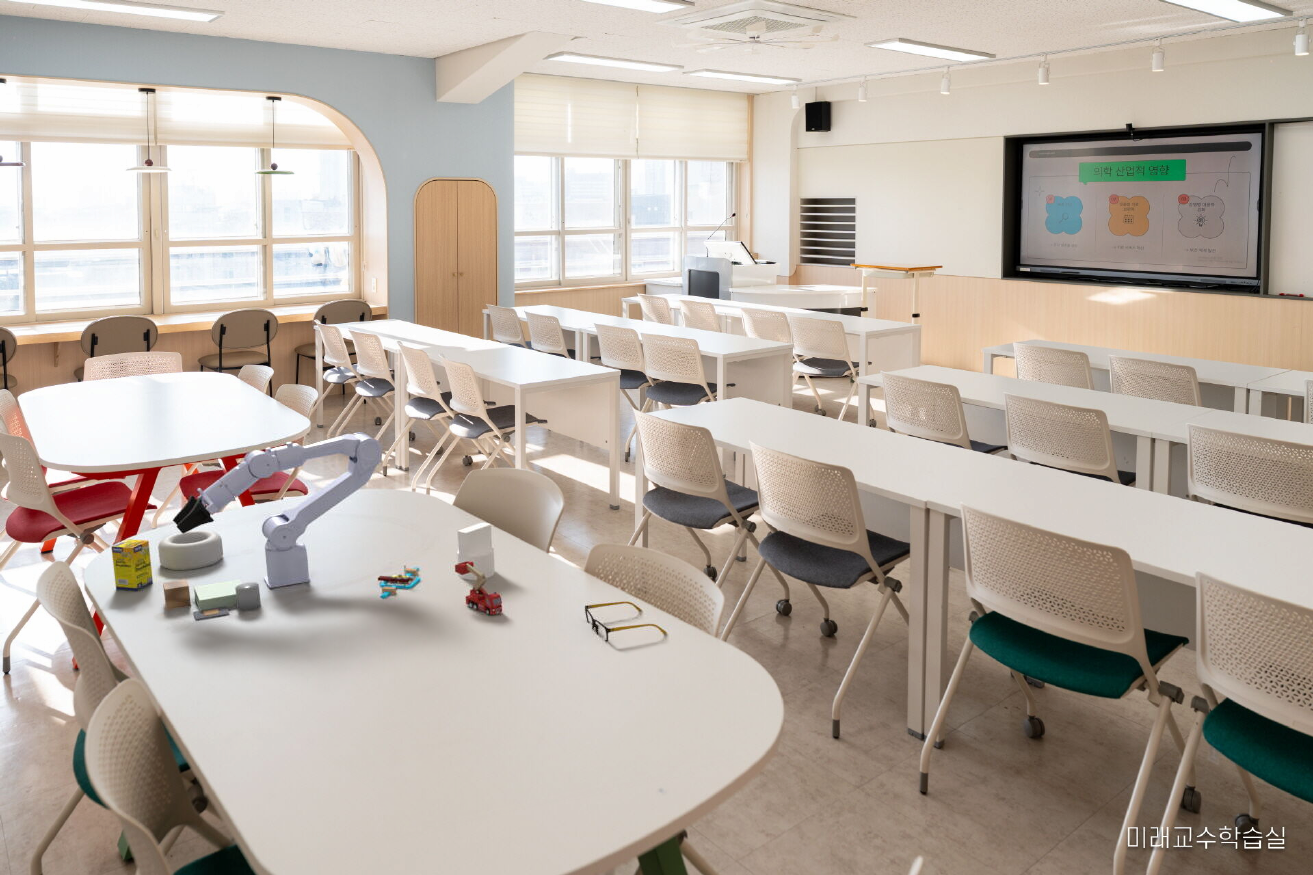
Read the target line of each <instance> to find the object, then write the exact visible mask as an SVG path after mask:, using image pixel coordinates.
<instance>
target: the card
mask: <svg viewBox="0 0 1313 875" xmlns="http://www.w3.org/2000/svg"><path fill="white" fill-rule="evenodd" d="M192 613H193V617H194V619H195V621H200V620H207V619H212V618H217V617H222V616H223V617H225V616H229V615H230V612H229V609H228V606H224V607H218V608H212V609H207V610H201V611H200V610H196V611H193V612H192Z"/></svg>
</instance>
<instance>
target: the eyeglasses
mask: <svg viewBox="0 0 1313 875" xmlns="http://www.w3.org/2000/svg"><path fill="white" fill-rule="evenodd" d="M622 604H627V605H631V606H633V607H634V608H635V609H636V610H637V611H638V612H642V609H641V608H640V607H639V606H637V605H636V604H634V603H633V602H631V601H616V602H606V603H605V602H604V603H594V604H588V605H585V606H584V612H585V616H586V617H585V618H586V622H587V623H588V624H590V620H589V616H590V618H591V630H595V633H596V635H597V636H600V633H599V629H600V627H599V626H601V627H602V628H603V629H604V630H605V636H606V638H605V639H604V641H605V642H609V634H610V633H614V632H619V631H623V630H632V629H637V628H643V627H648V626H650V627H654V628H657V629H658V630H659V631H660V632H661V633H662V634H663V635H666V634H668V632H667V631H666V630H665V629H663V628H662V627H661V626H659V625H657V624H654V623H645V624H644V623H643V624H635V625H627V626H626V625H625V626H617V627H616V626H615V627H610V628H609V627H607V626H606V625H604V624H603V623H601V621H599V620H598V619H595V618H594V617H593V615H592V614H591V611H589V610H591V609H597V608H600V607H608V606H617V605H622ZM597 623H598V624H597Z"/></svg>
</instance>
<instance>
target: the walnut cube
mask: <svg viewBox="0 0 1313 875" xmlns="http://www.w3.org/2000/svg"><path fill="white" fill-rule="evenodd" d="M162 586H163V595H164V596H163V597H164V603H165V604H164V605H165V608H166V610H167V611H169V610H175V609H181V608H188V607H192V604H191V603H192V602H191V594H190V584H189V582H188V580H187V579H180V580H179V579H178V580H173V581H172V580H171V581H166V582H162Z"/></svg>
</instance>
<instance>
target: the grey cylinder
mask: <svg viewBox="0 0 1313 875" xmlns="http://www.w3.org/2000/svg"><path fill="white" fill-rule="evenodd" d="M235 590H236V599H237V605H236V607H237V611H240V612H253V611H255V610H258V609H259V608H261V606H262V602H261V594H260V593H261V592H260V586H259V583H257V582H244V583H241V584H240V585H238V586H236V588H235Z"/></svg>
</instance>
